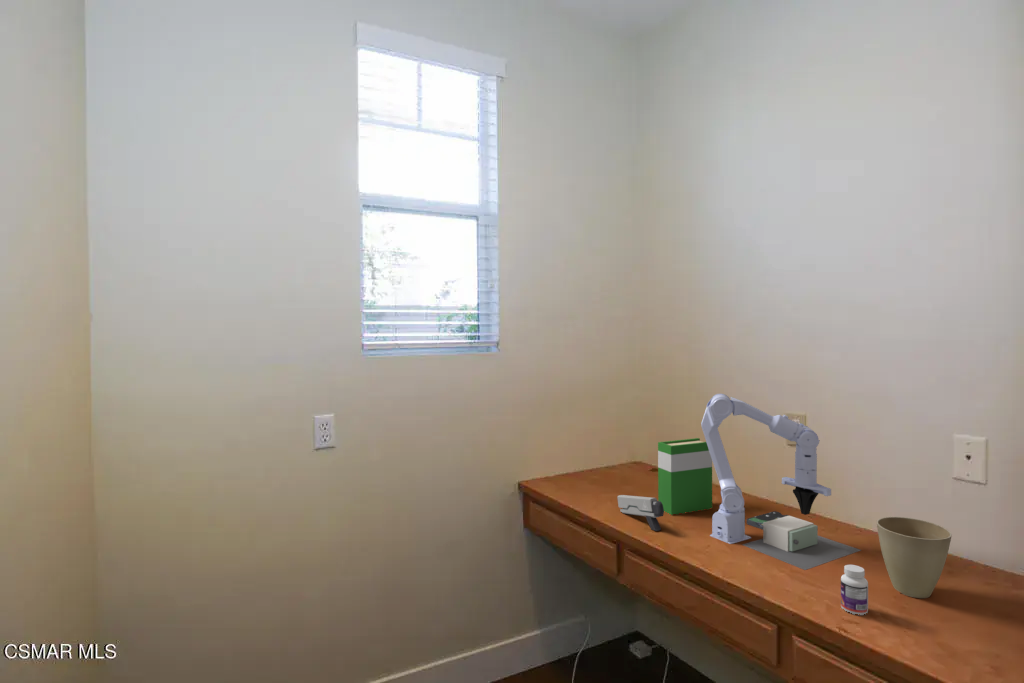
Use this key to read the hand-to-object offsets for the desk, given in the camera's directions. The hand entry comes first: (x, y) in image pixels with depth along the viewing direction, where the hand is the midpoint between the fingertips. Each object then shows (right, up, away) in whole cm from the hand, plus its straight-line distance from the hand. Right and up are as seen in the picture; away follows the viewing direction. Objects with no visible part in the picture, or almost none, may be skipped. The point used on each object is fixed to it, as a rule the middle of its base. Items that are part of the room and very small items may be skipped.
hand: (805, 513), depth 167 cm
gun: (-44, -10, +22) cm, 50 cm away
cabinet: (-5, -9, +1) cm, 10 cm away
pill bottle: (-9, -11, -38) cm, 40 cm away
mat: (-3, -9, -3) cm, 10 cm away
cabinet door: (-2, -9, -4) cm, 10 cm away
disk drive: (-2, -10, +16) cm, 19 cm away
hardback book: (-25, -9, +34) cm, 43 cm away
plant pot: (+11, -10, -29) cm, 33 cm away
